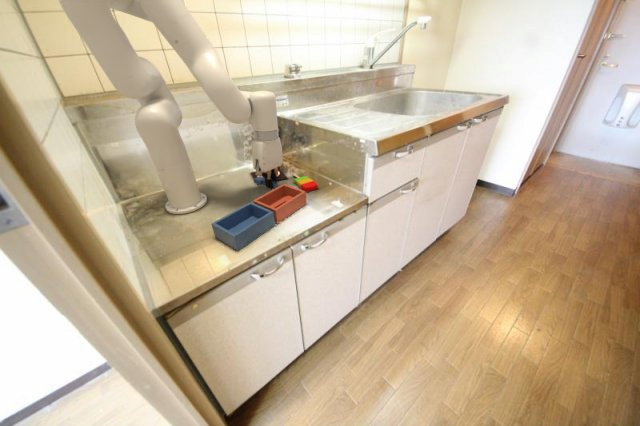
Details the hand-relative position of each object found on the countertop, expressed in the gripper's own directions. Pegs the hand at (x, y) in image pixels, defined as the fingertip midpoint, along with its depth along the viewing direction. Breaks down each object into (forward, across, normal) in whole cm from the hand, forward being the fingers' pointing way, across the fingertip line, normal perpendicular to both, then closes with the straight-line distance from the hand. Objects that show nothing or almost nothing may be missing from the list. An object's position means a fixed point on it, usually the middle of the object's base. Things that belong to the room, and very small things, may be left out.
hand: (271, 186), depth 90 cm
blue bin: (+3, +21, +11) cm, 23 cm away
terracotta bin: (+2, +6, +11) cm, 13 cm away
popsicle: (+2, -12, +5) cm, 13 cm away
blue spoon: (0, 0, -2) cm, 3 cm away
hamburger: (+2, -9, -11) cm, 14 cm away
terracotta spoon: (+2, +6, +11) cm, 12 cm away
